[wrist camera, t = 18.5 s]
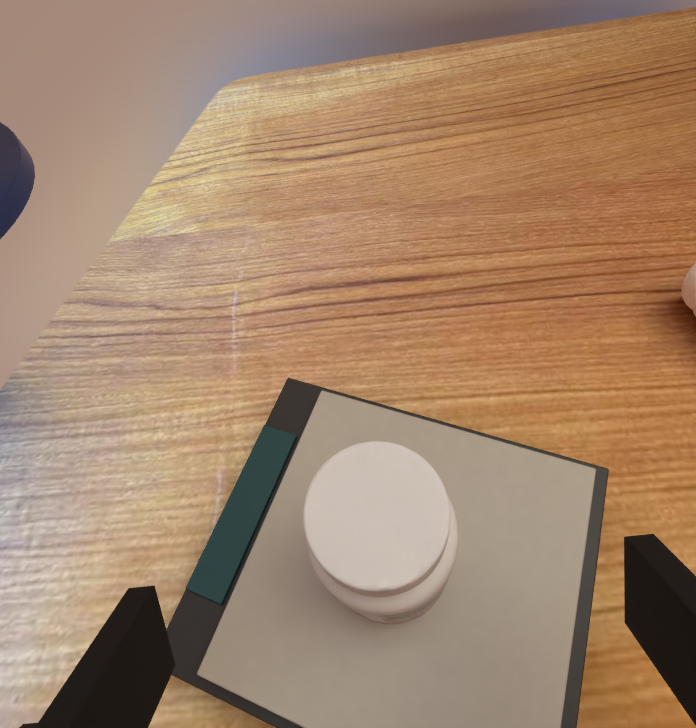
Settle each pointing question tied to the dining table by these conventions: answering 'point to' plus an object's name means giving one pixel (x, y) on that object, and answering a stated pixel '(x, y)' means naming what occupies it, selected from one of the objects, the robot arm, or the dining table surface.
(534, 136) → the dining table surface
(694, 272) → the garlic bulb
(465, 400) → the dining table surface
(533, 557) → the scale
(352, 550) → the pill bottle
